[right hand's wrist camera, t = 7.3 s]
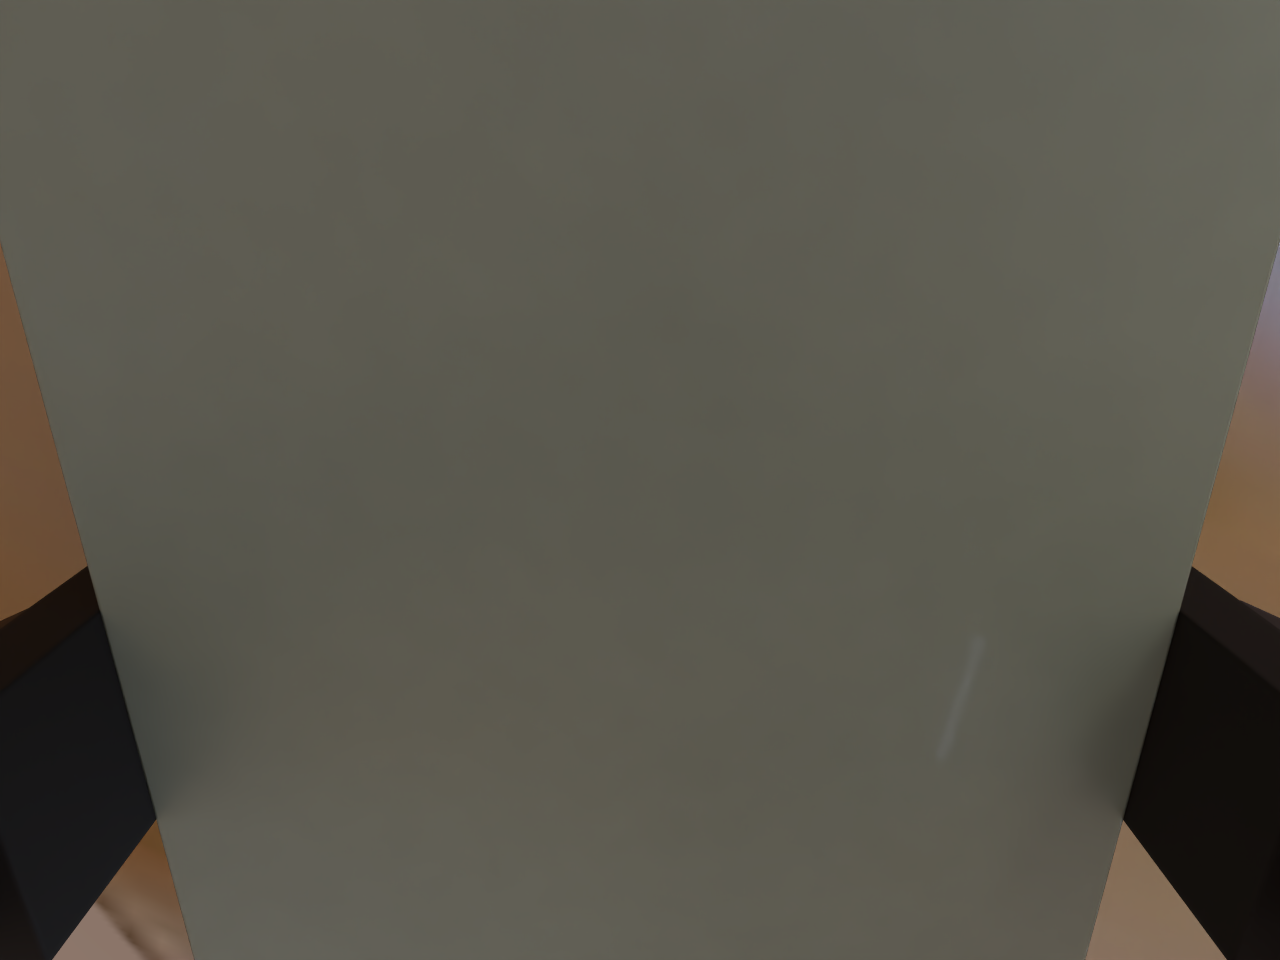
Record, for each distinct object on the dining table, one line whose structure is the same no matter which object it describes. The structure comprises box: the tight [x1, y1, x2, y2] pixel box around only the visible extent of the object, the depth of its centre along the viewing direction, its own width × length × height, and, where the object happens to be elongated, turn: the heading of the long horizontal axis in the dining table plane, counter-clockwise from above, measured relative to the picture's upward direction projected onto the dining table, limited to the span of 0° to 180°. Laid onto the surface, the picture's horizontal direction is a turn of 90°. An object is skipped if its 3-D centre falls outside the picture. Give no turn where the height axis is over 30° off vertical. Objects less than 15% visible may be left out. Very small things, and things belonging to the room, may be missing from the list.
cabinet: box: [0, 0, 1280, 960], centre depth 12 cm, size 18×11×10 cm, turn 0°
